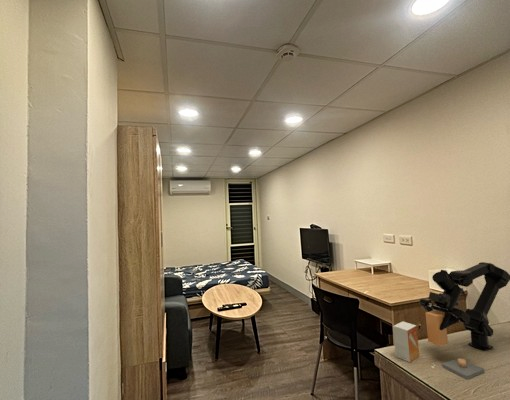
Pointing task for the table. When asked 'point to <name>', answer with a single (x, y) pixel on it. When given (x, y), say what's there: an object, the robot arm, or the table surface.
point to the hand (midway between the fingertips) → (434, 327)
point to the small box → (406, 341)
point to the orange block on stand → (436, 328)
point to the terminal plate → (463, 368)
